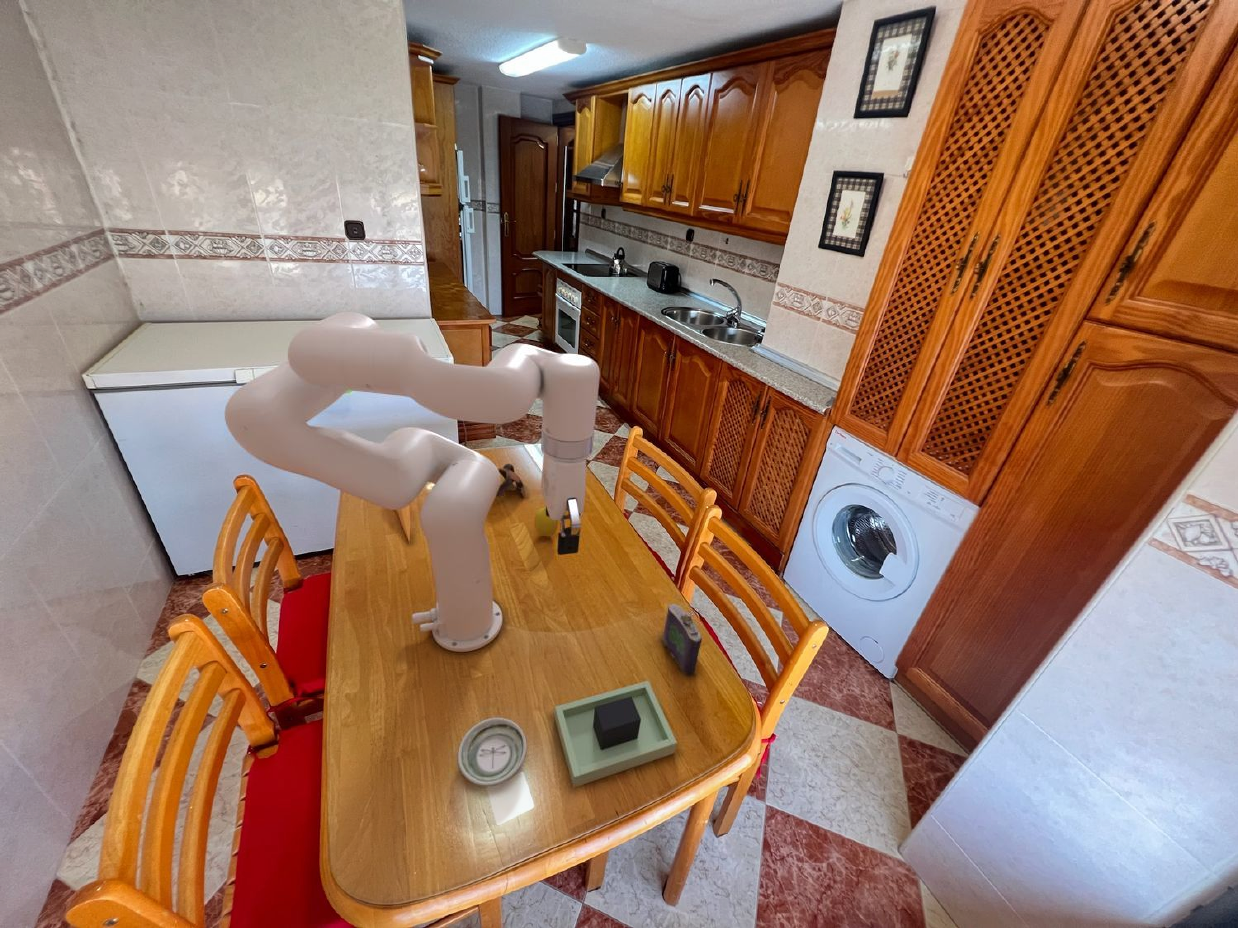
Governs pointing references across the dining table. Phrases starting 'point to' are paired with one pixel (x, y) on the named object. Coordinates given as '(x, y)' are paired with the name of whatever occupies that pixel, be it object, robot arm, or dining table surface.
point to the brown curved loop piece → (509, 480)
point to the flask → (682, 638)
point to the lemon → (544, 523)
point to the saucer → (492, 752)
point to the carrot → (405, 520)
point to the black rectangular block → (616, 722)
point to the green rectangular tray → (596, 763)
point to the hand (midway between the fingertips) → (561, 533)
